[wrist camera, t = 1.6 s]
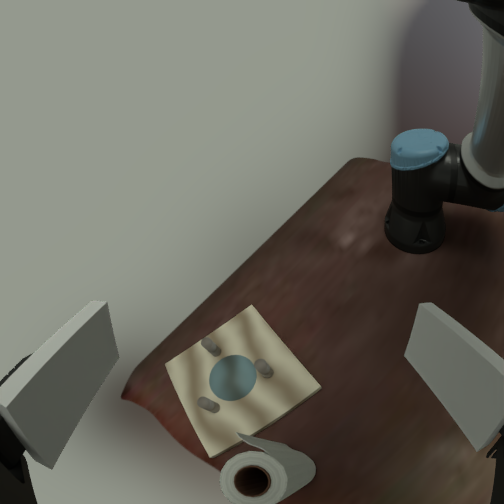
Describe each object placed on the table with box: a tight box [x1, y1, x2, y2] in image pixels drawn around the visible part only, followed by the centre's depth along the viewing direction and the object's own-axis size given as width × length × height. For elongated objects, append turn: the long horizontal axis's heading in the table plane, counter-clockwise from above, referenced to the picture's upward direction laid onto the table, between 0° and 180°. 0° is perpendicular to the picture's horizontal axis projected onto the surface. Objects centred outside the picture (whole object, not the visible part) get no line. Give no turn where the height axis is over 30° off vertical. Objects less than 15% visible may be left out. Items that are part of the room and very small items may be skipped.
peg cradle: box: [165, 305, 322, 458], centre depth 43 cm, size 22×22×6 cm
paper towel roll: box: [220, 432, 316, 504], centre depth 24 cm, size 7×6×21 cm
